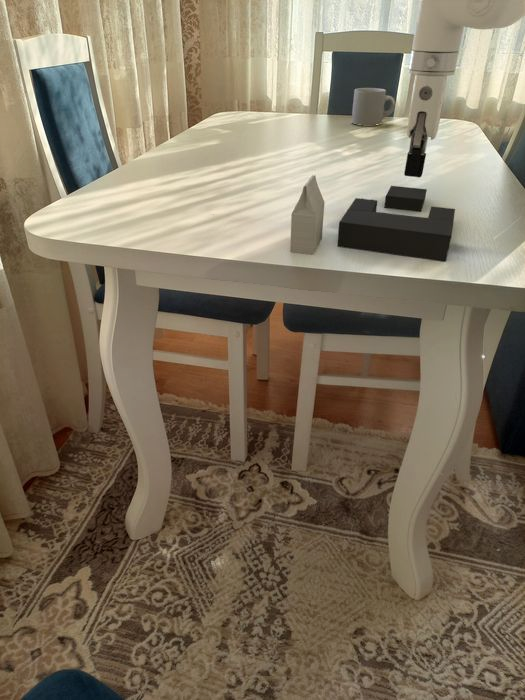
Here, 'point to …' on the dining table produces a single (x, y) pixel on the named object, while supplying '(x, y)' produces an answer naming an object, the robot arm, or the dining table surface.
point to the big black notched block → (396, 231)
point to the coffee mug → (370, 106)
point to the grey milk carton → (307, 219)
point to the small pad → (405, 198)
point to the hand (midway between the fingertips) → (413, 175)
